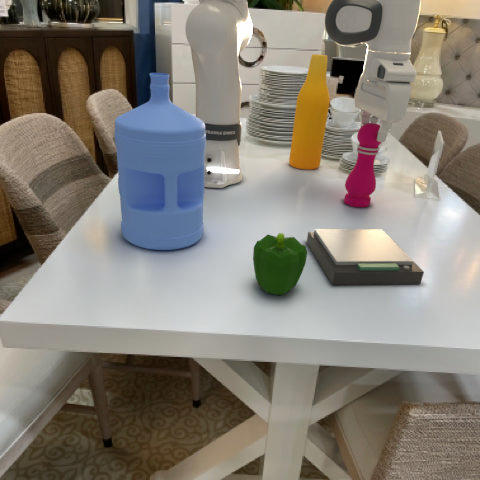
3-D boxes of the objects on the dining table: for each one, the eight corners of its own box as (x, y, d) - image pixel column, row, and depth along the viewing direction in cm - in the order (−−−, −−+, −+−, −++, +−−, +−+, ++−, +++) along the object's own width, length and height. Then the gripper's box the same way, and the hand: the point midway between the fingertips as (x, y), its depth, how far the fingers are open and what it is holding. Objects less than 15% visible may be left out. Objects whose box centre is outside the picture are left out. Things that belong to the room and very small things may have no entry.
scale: (332, 285, 79) (335, 268, 78) (306, 242, 93) (308, 227, 92) (420, 284, 82) (425, 267, 80) (382, 243, 96) (386, 228, 94)
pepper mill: (371, 210, 112) (392, 120, 101) (341, 206, 113) (358, 116, 102) (371, 200, 118) (390, 114, 107) (342, 196, 119) (358, 111, 108)
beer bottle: (321, 171, 137) (339, 57, 121) (289, 168, 137) (303, 55, 121) (317, 162, 145) (334, 55, 129) (287, 160, 145) (300, 52, 129)
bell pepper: (267, 270, 82) (273, 215, 77) (308, 286, 79) (318, 229, 73) (239, 288, 76) (244, 230, 71) (283, 306, 73) (292, 246, 67)
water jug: (115, 223, 95) (102, 66, 80) (190, 217, 100) (191, 69, 85) (130, 256, 83) (118, 79, 68) (214, 247, 89) (221, 82, 73)
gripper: (354, 62, 107) (343, 126, 115) (390, 72, 91) (375, 146, 98) (380, 63, 108) (368, 127, 116) (421, 73, 91) (403, 147, 99)
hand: (371, 136), depth 107 cm, fingers open, 8 cm apart
